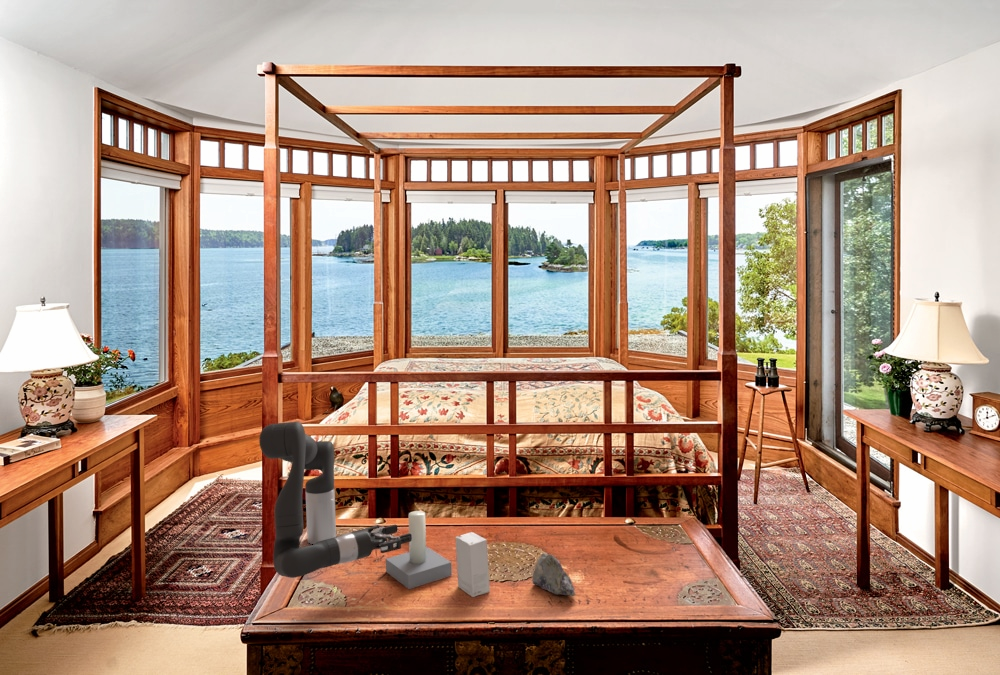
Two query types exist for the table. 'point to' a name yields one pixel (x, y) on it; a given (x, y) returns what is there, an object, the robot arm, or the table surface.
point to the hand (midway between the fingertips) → (403, 532)
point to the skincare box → (472, 564)
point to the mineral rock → (552, 576)
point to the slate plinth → (418, 569)
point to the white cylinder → (417, 537)
